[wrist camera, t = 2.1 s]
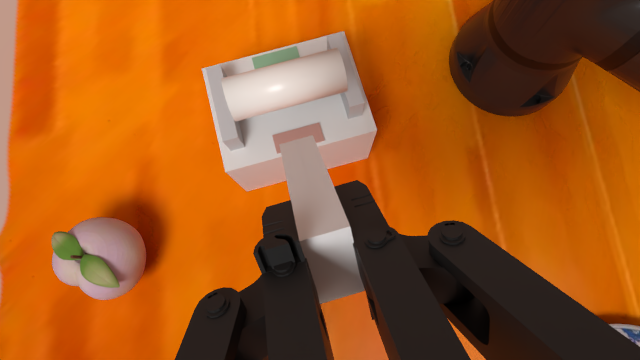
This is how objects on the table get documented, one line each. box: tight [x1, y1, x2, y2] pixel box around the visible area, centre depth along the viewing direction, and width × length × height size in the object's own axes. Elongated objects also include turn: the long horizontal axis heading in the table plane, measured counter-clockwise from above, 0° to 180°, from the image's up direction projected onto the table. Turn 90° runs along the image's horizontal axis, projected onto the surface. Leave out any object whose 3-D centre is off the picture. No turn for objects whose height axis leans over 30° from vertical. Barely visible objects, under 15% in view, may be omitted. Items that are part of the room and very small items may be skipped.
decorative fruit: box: [52, 217, 146, 300], centre depth 41 cm, size 9×8×10 cm
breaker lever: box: [221, 48, 348, 121], centre depth 32 cm, size 3×10×15 cm, turn 105°
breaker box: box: [202, 31, 377, 191], centre depth 43 cm, size 12×16×13 cm
